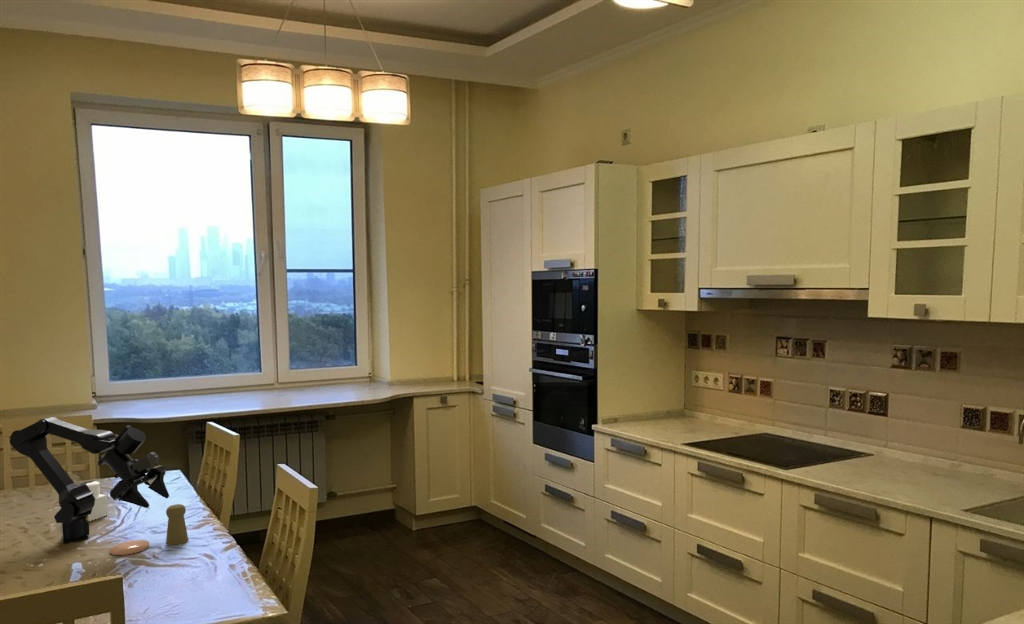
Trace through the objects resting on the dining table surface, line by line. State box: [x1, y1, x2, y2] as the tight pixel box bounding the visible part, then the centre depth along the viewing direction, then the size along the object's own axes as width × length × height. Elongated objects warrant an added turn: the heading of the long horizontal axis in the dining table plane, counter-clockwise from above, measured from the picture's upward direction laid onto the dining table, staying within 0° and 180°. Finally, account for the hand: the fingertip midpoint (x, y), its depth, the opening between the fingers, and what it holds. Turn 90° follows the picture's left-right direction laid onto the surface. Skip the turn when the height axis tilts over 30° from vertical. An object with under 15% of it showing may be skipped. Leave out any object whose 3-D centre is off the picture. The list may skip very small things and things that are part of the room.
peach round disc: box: [109, 539, 150, 556], centre depth 202 cm, size 10×10×1 cm
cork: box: [165, 503, 189, 547], centre depth 207 cm, size 6×6×11 cm
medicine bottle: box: [78, 480, 108, 522], centre depth 231 cm, size 7×7×12 cm
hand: (158, 501), depth 207 cm, fingers open, 9 cm apart
